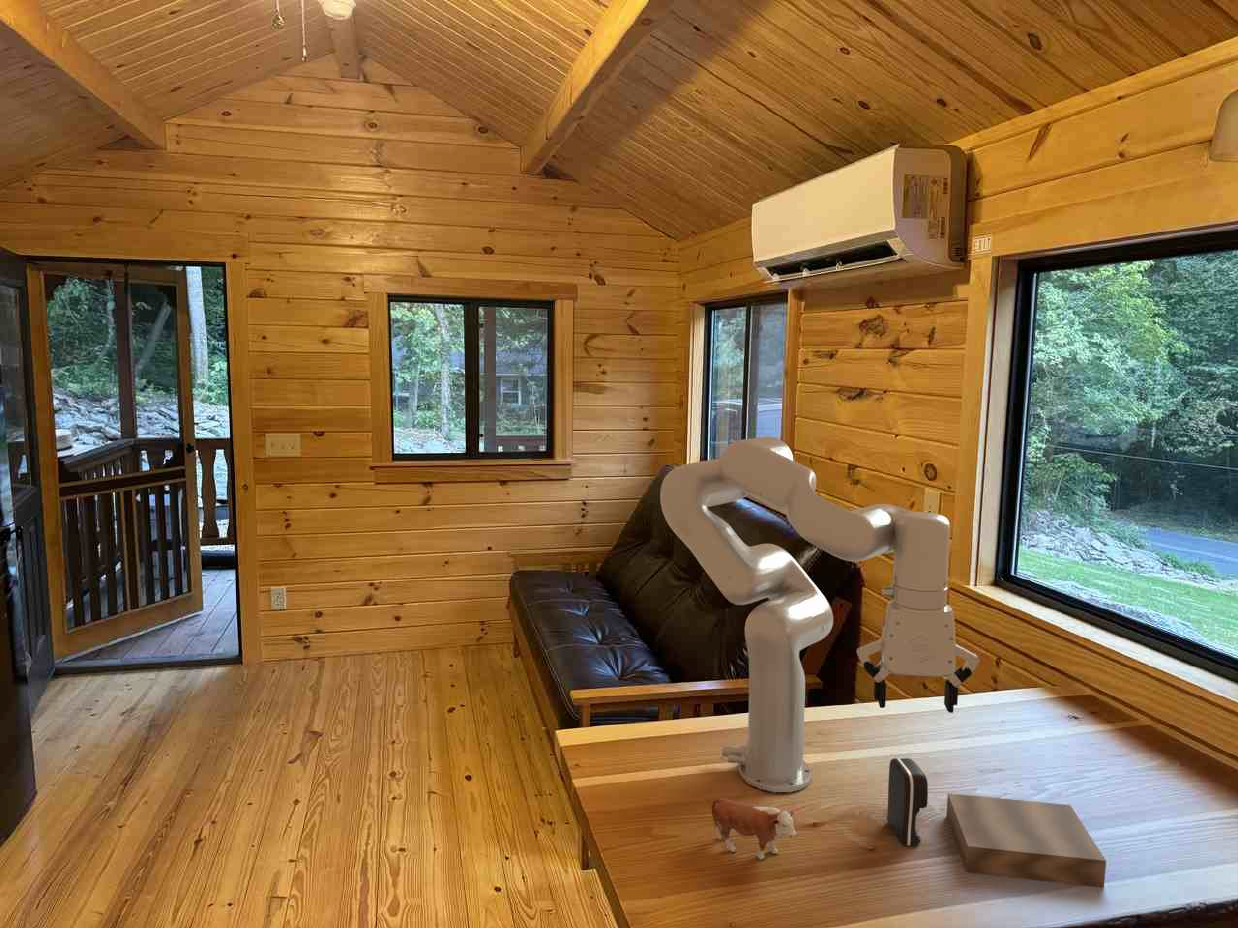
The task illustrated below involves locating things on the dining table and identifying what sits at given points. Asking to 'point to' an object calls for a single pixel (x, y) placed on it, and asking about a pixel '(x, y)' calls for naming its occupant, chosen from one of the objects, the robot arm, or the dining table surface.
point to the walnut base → (1024, 840)
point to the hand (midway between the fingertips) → (914, 706)
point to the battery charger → (905, 798)
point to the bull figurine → (752, 823)
